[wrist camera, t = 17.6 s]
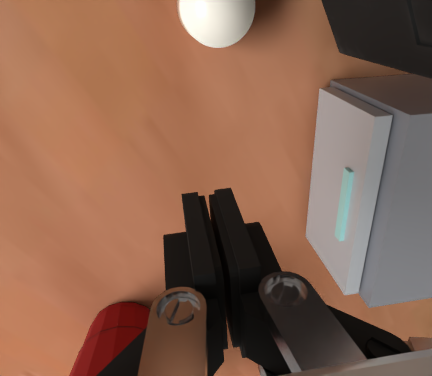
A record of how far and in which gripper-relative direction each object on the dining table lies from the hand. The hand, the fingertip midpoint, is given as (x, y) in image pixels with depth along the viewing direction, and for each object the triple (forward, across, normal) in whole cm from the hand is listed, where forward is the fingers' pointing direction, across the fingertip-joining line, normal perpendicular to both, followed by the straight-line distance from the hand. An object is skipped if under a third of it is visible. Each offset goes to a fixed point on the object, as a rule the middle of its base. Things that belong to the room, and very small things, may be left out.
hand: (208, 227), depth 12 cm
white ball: (+15, -2, -6) cm, 16 cm away
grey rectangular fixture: (+14, -16, +6) cm, 22 cm away
